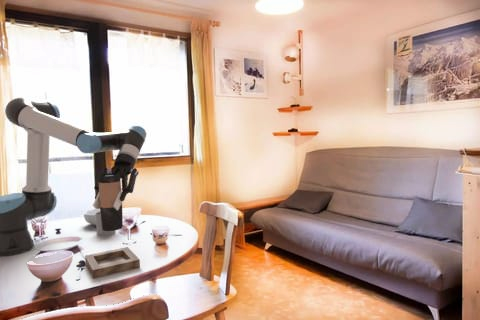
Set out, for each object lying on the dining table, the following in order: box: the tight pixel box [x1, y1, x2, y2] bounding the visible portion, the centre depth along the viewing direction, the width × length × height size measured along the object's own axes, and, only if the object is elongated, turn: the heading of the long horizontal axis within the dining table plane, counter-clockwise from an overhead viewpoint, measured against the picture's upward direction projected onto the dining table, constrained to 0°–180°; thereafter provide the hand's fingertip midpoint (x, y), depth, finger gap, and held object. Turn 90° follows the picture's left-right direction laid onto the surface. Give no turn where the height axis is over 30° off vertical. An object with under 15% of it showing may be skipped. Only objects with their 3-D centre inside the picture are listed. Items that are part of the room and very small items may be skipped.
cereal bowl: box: [83, 208, 100, 227], centre depth 184 cm, size 17×17×7 cm
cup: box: [95, 212, 116, 236], centre depth 169 cm, size 8×8×10 cm
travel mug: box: [97, 173, 124, 232], centre depth 126 cm, size 8×8×20 cm
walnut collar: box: [84, 246, 141, 279], centre depth 129 cm, size 16×16×3 cm
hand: (105, 207), depth 123 cm, fingers closed on travel mug, 7 cm apart
